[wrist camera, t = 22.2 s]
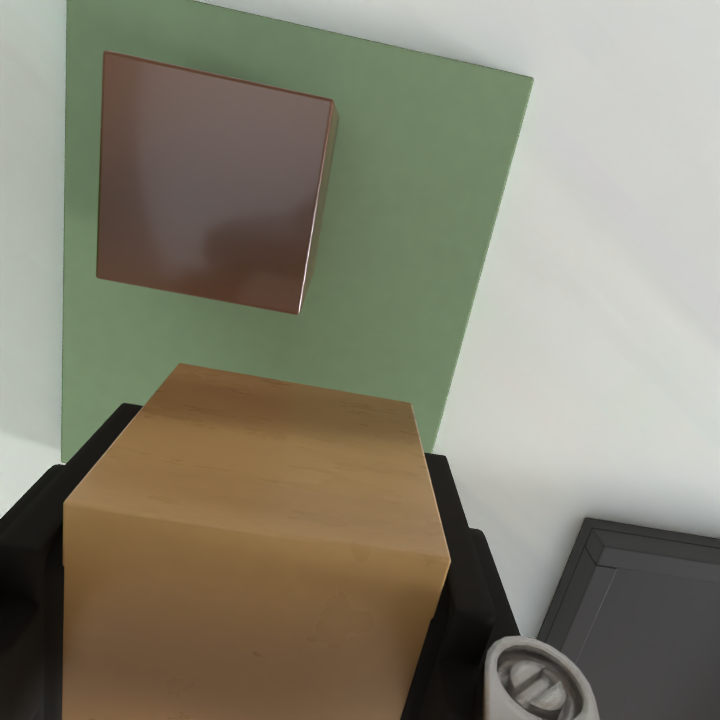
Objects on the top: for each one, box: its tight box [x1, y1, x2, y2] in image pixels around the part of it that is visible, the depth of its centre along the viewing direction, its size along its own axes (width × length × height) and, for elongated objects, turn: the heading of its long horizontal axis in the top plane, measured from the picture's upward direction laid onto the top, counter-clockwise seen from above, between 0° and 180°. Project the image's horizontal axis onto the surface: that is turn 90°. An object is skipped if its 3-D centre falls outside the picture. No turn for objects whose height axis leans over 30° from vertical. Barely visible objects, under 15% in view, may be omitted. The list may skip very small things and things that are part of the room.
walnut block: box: [96, 50, 339, 315], centre depth 13 cm, size 4×4×4 cm
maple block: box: [62, 363, 451, 720], centre depth 9 cm, size 4×4×4 cm
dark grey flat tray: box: [537, 518, 720, 720], centre depth 22 cm, size 16×12×2 cm
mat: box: [61, 0, 534, 463], centre depth 17 cm, size 14×12×1 cm
